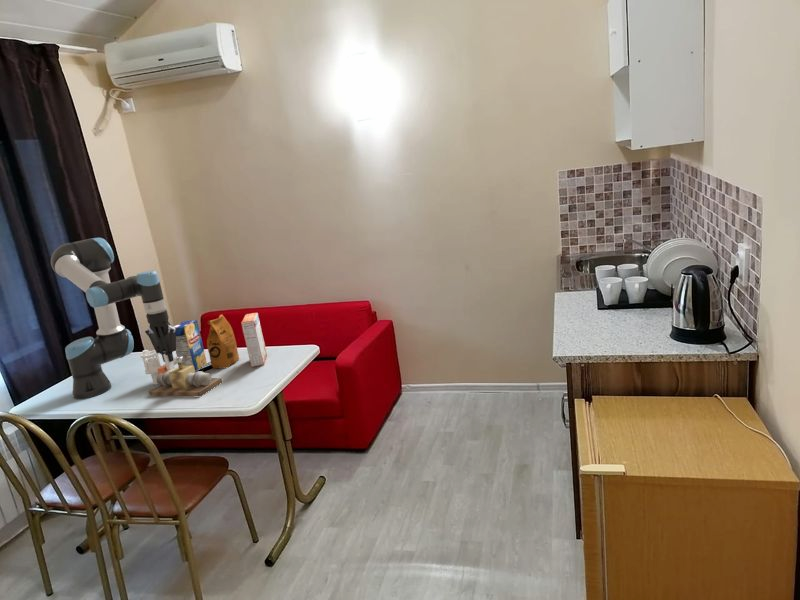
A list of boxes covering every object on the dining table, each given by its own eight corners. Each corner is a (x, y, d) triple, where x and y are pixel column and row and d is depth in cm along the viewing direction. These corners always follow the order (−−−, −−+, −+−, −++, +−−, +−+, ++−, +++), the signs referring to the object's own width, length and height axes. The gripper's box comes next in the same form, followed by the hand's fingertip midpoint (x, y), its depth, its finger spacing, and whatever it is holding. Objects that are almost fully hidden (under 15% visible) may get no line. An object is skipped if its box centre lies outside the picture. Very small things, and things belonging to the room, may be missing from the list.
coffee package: (208, 369, 266) (197, 322, 261) (224, 359, 278) (214, 314, 272) (227, 369, 263) (216, 321, 258) (242, 358, 274) (232, 313, 269)
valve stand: (149, 395, 243) (142, 369, 240) (173, 382, 256) (166, 356, 253) (200, 396, 234) (193, 369, 231) (222, 382, 246) (216, 356, 243)
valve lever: (178, 360, 244) (177, 356, 243) (185, 360, 243) (184, 355, 242) (157, 373, 230) (156, 369, 230) (165, 373, 230) (163, 368, 229)
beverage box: (181, 376, 263) (170, 328, 257) (194, 366, 273) (183, 321, 268) (195, 374, 261) (184, 327, 256) (207, 365, 272) (196, 319, 266)
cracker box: (254, 357, 273) (245, 314, 268) (267, 355, 274) (258, 311, 269) (250, 367, 260) (240, 322, 255) (264, 365, 260) (254, 319, 255)
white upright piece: (157, 379, 263) (149, 347, 259) (169, 380, 259) (161, 347, 256) (145, 385, 257) (136, 353, 253) (156, 386, 253) (147, 353, 250)
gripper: (135, 315, 225) (150, 373, 230) (164, 313, 221) (179, 372, 227) (148, 309, 232) (163, 366, 237) (176, 307, 228) (190, 365, 234)
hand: (170, 369), depth 232 cm, fingers closed
